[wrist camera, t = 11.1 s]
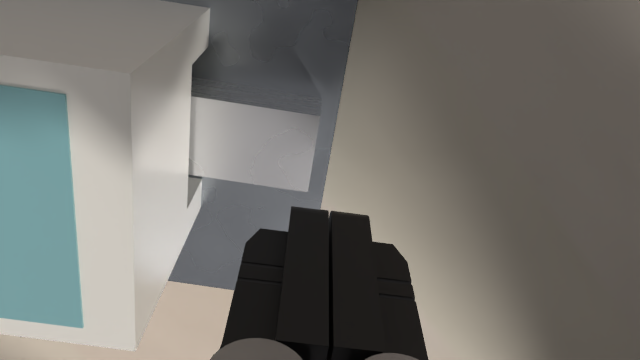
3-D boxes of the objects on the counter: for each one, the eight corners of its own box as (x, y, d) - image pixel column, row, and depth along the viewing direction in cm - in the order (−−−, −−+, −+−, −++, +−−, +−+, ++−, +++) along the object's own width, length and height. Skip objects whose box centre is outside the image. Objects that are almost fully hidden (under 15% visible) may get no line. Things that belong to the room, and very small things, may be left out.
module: (210, 8, 14) (129, 74, 9) (200, 207, 17) (134, 353, 11) (33, -19, 14) (-162, 32, 8) (53, 187, 17) (-85, 325, 11)
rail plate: (372, -97, 14) (389, -97, 9) (305, 281, 19) (295, 396, 15) (-287, -213, 13) (-612, -272, 9) (-161, 214, 18) (-320, 313, 14)
